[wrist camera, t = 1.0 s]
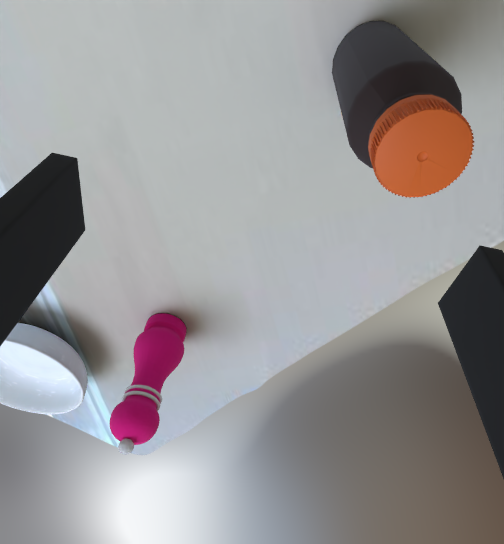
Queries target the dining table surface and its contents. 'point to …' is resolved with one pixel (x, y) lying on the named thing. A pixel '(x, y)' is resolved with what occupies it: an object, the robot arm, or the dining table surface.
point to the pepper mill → (148, 380)
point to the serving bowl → (40, 372)
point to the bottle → (400, 110)
